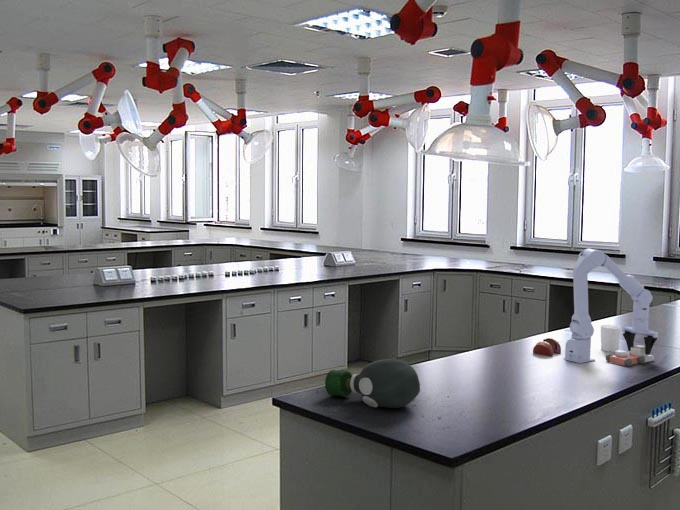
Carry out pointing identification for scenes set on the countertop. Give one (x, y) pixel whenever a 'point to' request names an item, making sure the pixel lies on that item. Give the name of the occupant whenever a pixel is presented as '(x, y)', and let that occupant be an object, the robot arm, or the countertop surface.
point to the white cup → (610, 337)
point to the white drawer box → (638, 350)
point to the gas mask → (377, 383)
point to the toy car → (627, 358)
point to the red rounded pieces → (547, 347)
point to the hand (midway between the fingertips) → (639, 352)
